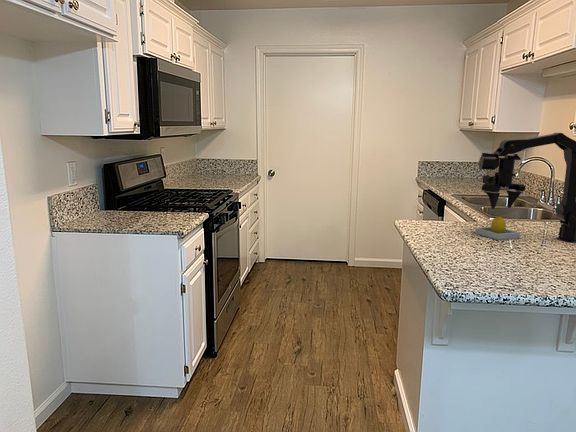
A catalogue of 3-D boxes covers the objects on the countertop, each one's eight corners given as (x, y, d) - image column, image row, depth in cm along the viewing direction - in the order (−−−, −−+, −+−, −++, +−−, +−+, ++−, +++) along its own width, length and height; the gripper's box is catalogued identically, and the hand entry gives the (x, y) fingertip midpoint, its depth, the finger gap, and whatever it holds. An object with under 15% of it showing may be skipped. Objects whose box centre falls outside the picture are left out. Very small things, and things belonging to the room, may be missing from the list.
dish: (519, 238, 184) (519, 232, 184) (497, 240, 180) (498, 234, 179) (495, 232, 195) (496, 226, 195) (474, 233, 190) (475, 228, 190)
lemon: (505, 236, 184) (508, 217, 183) (491, 235, 185) (494, 216, 184) (502, 234, 190) (505, 215, 188) (488, 233, 191) (491, 214, 189)
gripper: (505, 168, 194) (501, 204, 197) (473, 168, 186) (469, 205, 189) (528, 171, 184) (523, 208, 187) (495, 171, 176) (490, 210, 179)
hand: (501, 208), depth 186 cm, fingers open, 9 cm apart
